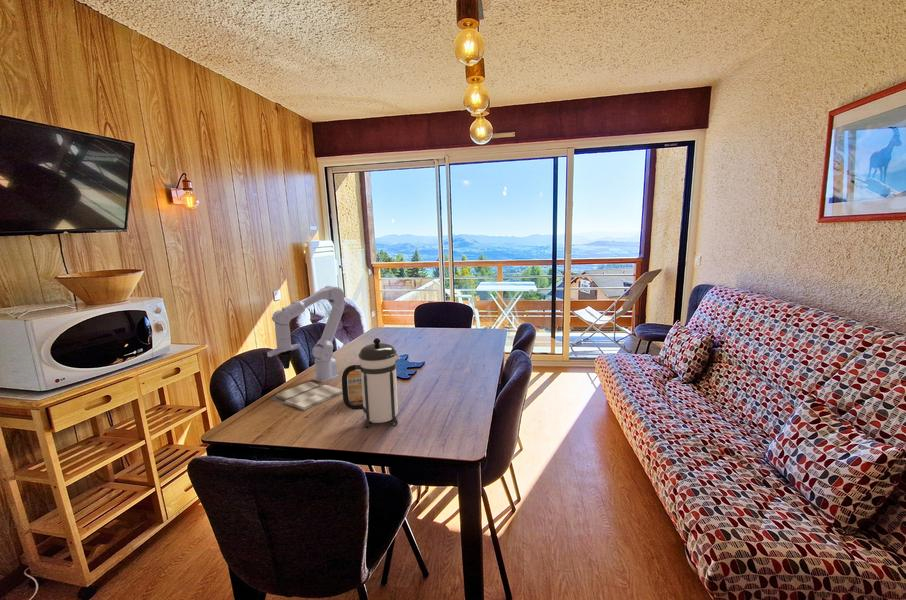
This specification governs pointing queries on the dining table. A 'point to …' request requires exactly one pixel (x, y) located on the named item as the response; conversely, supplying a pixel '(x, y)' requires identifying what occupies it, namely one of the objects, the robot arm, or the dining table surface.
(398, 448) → the dining table surface
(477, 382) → the dining table surface
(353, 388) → the supplement box
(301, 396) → the floor panel
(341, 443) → the dining table surface
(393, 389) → the coffee press
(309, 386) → the loose plank
